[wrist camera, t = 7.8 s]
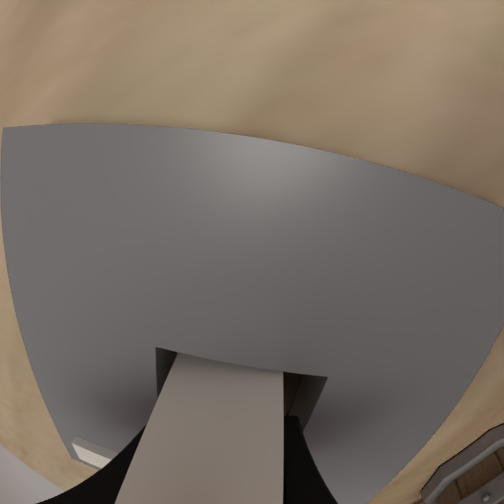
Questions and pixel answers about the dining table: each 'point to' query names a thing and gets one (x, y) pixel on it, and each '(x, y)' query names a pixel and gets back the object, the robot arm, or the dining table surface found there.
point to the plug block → (211, 438)
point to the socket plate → (246, 285)
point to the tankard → (471, 474)
